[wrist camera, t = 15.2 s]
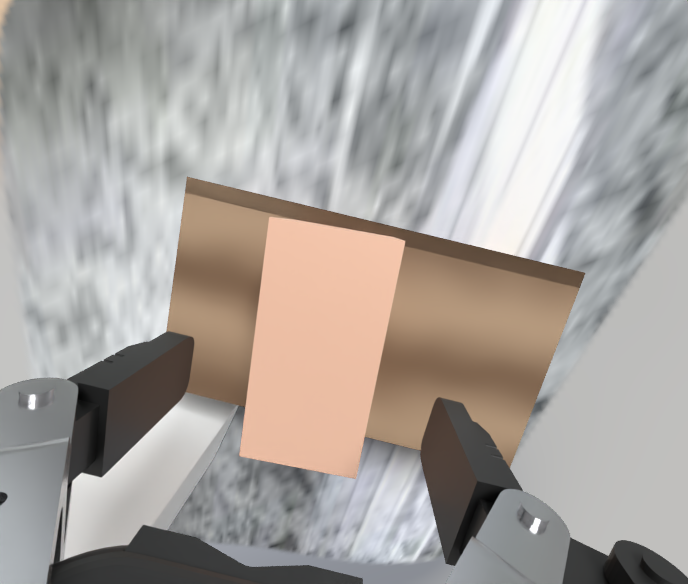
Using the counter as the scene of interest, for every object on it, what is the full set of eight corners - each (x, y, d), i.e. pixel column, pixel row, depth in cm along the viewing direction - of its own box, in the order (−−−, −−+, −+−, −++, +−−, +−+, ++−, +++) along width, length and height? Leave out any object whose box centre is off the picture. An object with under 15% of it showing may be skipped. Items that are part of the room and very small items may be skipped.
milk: (148, 424, 27) (-720, 1214, 5) (174, 362, 26) (-817, 1061, 4) (216, 457, 27) (-362, 1350, 6) (245, 396, 26) (-356, 1241, 4)
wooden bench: (233, 190, 23) (187, 176, 17) (526, 260, 23) (585, 273, 17) (208, 347, 25) (159, 385, 19) (472, 413, 25) (507, 472, 19)
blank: (296, 219, 17) (269, 216, 12) (393, 236, 17) (405, 241, 12) (271, 396, 19) (239, 456, 14) (357, 413, 19) (355, 478, 14)
